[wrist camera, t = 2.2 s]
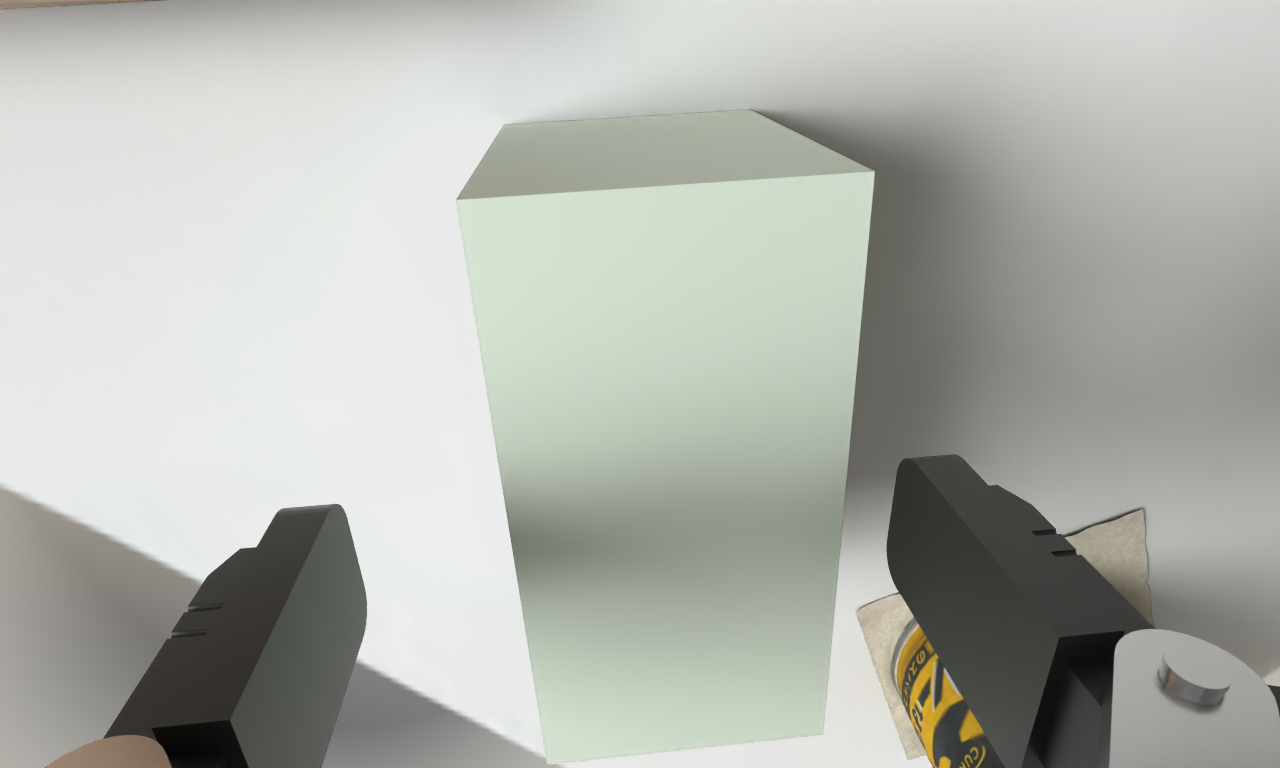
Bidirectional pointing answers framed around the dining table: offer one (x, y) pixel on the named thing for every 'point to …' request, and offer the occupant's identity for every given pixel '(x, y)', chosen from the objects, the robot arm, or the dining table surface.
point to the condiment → (923, 685)
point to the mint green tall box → (671, 416)
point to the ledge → (56, 2)
